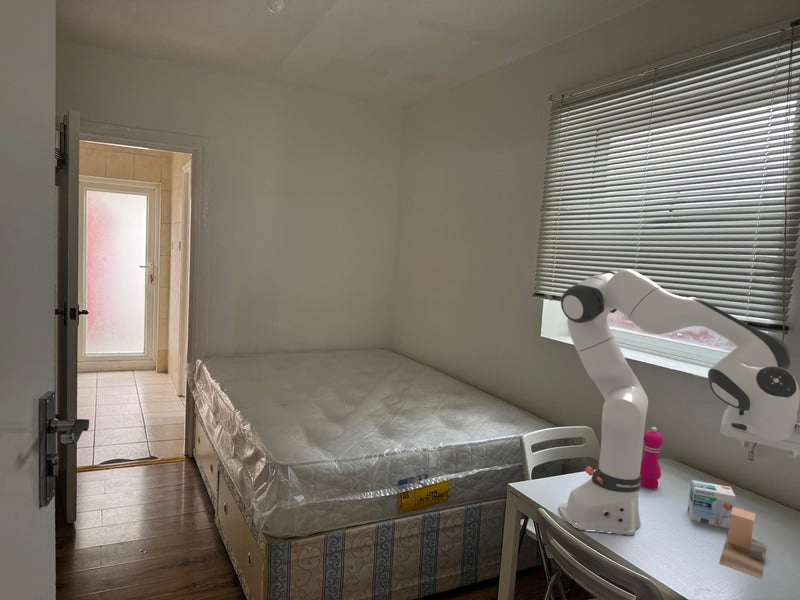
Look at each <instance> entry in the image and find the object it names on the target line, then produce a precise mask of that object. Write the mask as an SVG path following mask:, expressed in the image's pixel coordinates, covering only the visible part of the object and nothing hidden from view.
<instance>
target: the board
mask: <svg viewBox="0 0 800 600" xmlns="http://www.w3.org/2000/svg"><path fill="white" fill-rule="evenodd" d="M727 539H728V534H727V535H726V539H725V543H724V544H723V549H722V552H721V556H720V558H719V562H718V564H719V565H721V566H725V567H727V568H729V569H733V570H736V571H737V572H741V573H744V574H746V575H750V576H753V577H755V578H758V579H761V580H762V579H763V573H764V568H765V561H766V555H767V549H768V548H767V547H768V546H767V545H765V543H764V542H762V541H759V540H756V539H754V538H752V541H751V547H750V549H747V548H744V547H741V546H738V545H735V544H732V543H729V542H727Z"/></svg>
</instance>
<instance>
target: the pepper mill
mask: <svg viewBox="0 0 800 600" xmlns="http://www.w3.org/2000/svg"><path fill="white" fill-rule="evenodd" d="M657 431H658V428H657V427H655V426H652V427H651V429H650V430H647V431H646V432H644V440H643V450H644V454H643V456H642V460H641V469H640V475H641V484H640V487H643V488H647V489H650V490H656V489H658V487H659V481H658V480H659V479H661V477H662V469H661V467H660V464H659V459H658V458H659V453H660V452H661V446H662V445H663V443H664V437H663V436H662V434H660V433H659V432H657Z"/></svg>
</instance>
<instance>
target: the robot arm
mask: <svg viewBox="0 0 800 600" xmlns="http://www.w3.org/2000/svg"><path fill="white" fill-rule="evenodd" d="M560 308H561V310H562V313H563V314H564V315H565V317H566V318H567V319H566V320H567V321H566V323H567V328H568V331H569V335H570V338H571V341H572V343H573V346H574V348H575V350H576V352H577V354H578V356H579V358H580V360H581V363H582V364H583V367H584V369H585V370H586V373H587V375H588V376H589V378H590V379H591V380H592V381H593V383H594V385H596V388H597V389H598V390H599V392H600V393H601V395H602V396H603V399H604V403H603V406H602V415H601V432H600V433H601V435H600V437H601V441H600V450H599V461H598V465H597V467H596V468H595V469H593V468H592V467H591V466H587V467H586V468H585V469H584V471H585V472H586V474H588V476H591V478H590V479H589V480H587V481H585V482H584V483H582V484H581V485H579V486H578V487H576V488H574V489H572V490H571V491H570V494H569V497H568V499H567V502H562V503H560V504H559V507H558V511H559V510H560V512H561V514H562V515H563V517H564V518H565V519H566V520H567V521H568V522H570V523H571V524H572V525H574V526H575V527H577V528H578V529H580V530H595V531H603V532H611V533H616V534H615V535H622V534H626V535H625V536H635V534H636V530H638V529H639V528H640V527H641V519H640V513H639V492H640V489H641V485H640V484H641V475H640V469H641V461H642V459H643V450H644V441H643V440H644V434H645V431H646V430H645V427H646V419H647V413H648V408H649V397H648V396H647V394H646V392H645V390H644V388H643V386H642V385H641V383H640V381H639V379H638V378H637V376H636V375H635V373H634V371H633V370H632V368H631V367H630V364H628V361H627V359H626V358H625V356H624V354H623V352H622V350H621V348H620V346H619V344H618V342H617V340H616V338H615V336H614V334H613V332H612V330H611V328H610V326H609V325H608V316H609V314H610V313H611V314H614V313H616V311H619V312H620V313H622V314H623V315H624V316H625V317H626V318H627V319H629V320H630V321H631V322H632V323H633V324H634V325H635V326H637V327H638V328H640V329H641V330H642V331H644V332H646V333H648V334H655V335H663V334H670V333H673V332H677V331H679V330H682V329H687V328H691V327H703V328H706V329H709V330H710V331H712V332H714V333H716V334H718V335H719V336H721V337H723V338H725V339H727V340H728V341H731V343H734V344H735V345H737V347H736V348H734V349H733V350H732V351H730V352H729V353H728V354H727V355H726V356H724V357H722V358H721V359H720V360H719V361H717V362H716V363H715V364H714V365H713V366H712V367H711V368H710V369H708V371H707V378H708V379H707V381H708V383H709V386H710V389H711V391H712V392H713V394H714V395H715V396H716V397H717V398H718V399H719V400H720V401H721V402H724V403H725V404H727V405H728V406H727V408H726V409H725V410H724V412H723V415H722V419H721V423H720V428H719V432H720V434H721V435H723V436H725V437H728V438H732V439H733V438H734V439H737V441H738V442H739V443H741V446H742V447H746V448H749V447H750V442H751V443H755V444H760V445H763V446H769V447H772V448H778V449H780V450H781V449H782V450H785V451H788V457H789V458H792V459H797V456H800V423H797V420H798V419H797V418H798V411H799V407H800V387H799V383H798V381H797V379H796V377H795V376H794V375H793V373H791V372H790V371H788V369H789V368H790V365H791V353H790V350H789V347H788V346H787V345H786V344H785V342H784V341H783V340H781V339H780V338H778V337H777V336H776V335H773V334H770V333H767V332H765V331H762V330H760V329H757V328H755V327H753V326H751V325H749V324H748V323H745V322H744V321H742V320H740V319H738V318H737V317H734V316H732V315H731V314H729V313H727V312H725V311H723V310H722V309H720V308H719V307H716V306H714V305H712V304H710V303H708V302H706V301H704V300H702V299H700V298H697V297H694V296H688V297H684V296H680V295H676V294H673V293H672V292H668V291H667V290H665V288H663V287H661V286H660V285H659V284H657V283H656V282H654V281H653V280H651V279H650V278H648V277H646V276H644V275H642V274H641V273H639V272H637V271H635V270H633V269H627V268H626V269H622V270H619V271H617V270H608V271H603V272H601V273H600V274H595V275H593V276H590V277H588V278H586V279H584V280H582V281H581V282H579V283H577V284H574V285H572V286H571V287H569V288H568V289H567V290H565V291H564V292H563V294H562V296H561V298H560ZM560 512H559V513H560ZM561 514H560V515H561ZM562 515H561V516H562ZM563 517H562V518H563ZM564 518H563V519H564ZM565 519H564V520H565ZM566 520H565V521H566ZM567 521H566V522H567ZM568 522H567V523H568ZM575 523H577V524H575ZM572 525H571V526H572ZM575 527H574V528H575ZM578 529H577V530H578ZM580 530H579V531H580ZM611 533H610V534H611Z"/></svg>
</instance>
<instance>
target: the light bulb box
mask: <svg viewBox="0 0 800 600" xmlns="http://www.w3.org/2000/svg"><path fill="white" fill-rule="evenodd" d="M736 498H737V497H736V494H735V492H734V491H733V489H732V487H731V486H728V485H727V486H726V485H721V484H715V483H709V482H704V481H699V480H694V479H691V483H690V490H689V496H688V503H687V504H688V505H687V513H688V517H689V520H690V521H692V522H697V523H700V524H701V523H702V524H706V525H712V526H716V527H721V528H725V529H729V525H730V517H731V512H732V509H733V507H735V503H736Z"/></svg>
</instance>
